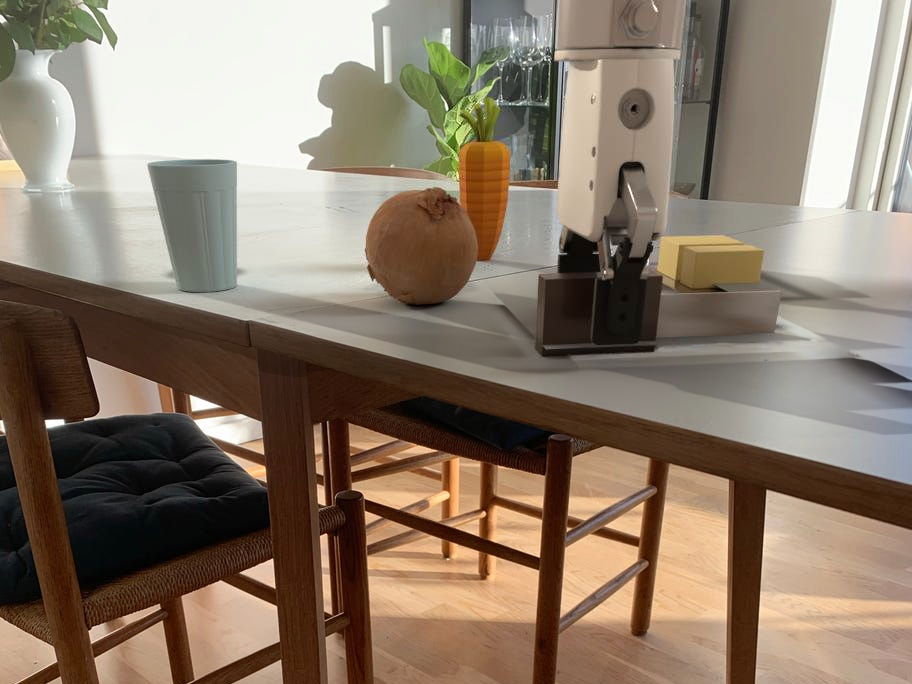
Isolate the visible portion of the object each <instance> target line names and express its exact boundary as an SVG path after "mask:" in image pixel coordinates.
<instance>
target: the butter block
mask: <svg viewBox="0 0 912 684" xmlns="http://www.w3.org/2000/svg"><path fill="white" fill-rule="evenodd" d="M728 245H745V242H743V241H740V240H737V239H734V238H731V237H729V236H726V235H724V234H718V235H717V234H716V235H715V234H713V235H679V236H674V235H673V236H661V237H660V242H659V249H658V259H657V268H658V269H657V271H659V272H660V273H662V274H664V275H666V276H668V277H670V278H672V279H674V280H681V272H682V263H683V255H684V247H692V246H728Z"/></svg>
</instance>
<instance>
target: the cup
mask: <svg viewBox="0 0 912 684" xmlns="http://www.w3.org/2000/svg"><path fill="white" fill-rule="evenodd" d="M146 166H147V170H148V174H149V179H150V183H151V185H152V186H151V187H152V190H153V195H154V198H155V199H154V200H155V203H156V208H157V211H158V215H159V219H160V223H161V227H162V232H163V235H164V239H165V244H166V247H167V251H168V256H169V261H170V264H171V268H172V273H173V276H174V280H175V284H176V288H177V289H178V290H180V291H183V292H191V293H213V292H214V293H215V292H222V291H227V290H231V289H234V288H236V287H237V285H238V224H237V223H238V200H237V199H238V198H237V197H238V195H237V194H238V191H237V189H238V162H237V161H236V160H233V159H216V158H215V159H214V158H213V159H212V158H209V159H208V158H200V159H199V158H197V159H196V158H195V159H194V158H193V159H192V158H191V159H172V160H171V159H169V160H159V161H151V162H148V163H146Z"/></svg>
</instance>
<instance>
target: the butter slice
mask: <svg viewBox="0 0 912 684" xmlns="http://www.w3.org/2000/svg"><path fill="white" fill-rule="evenodd" d="M764 255H765V249H763V248H760V247H757V246H754V245H751V244H744V245H728V246H692V247H684V255H683V263H682V272H681V280H680V283H682V284H684V285H686V286H688V287H689V288H691V289H709V288H721V287H720V286H718V285H722V284H723V285H726V284H727V285H728V284H758V283H760V280H761V275H762V268H763V263H764V262H763V261H764Z"/></svg>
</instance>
